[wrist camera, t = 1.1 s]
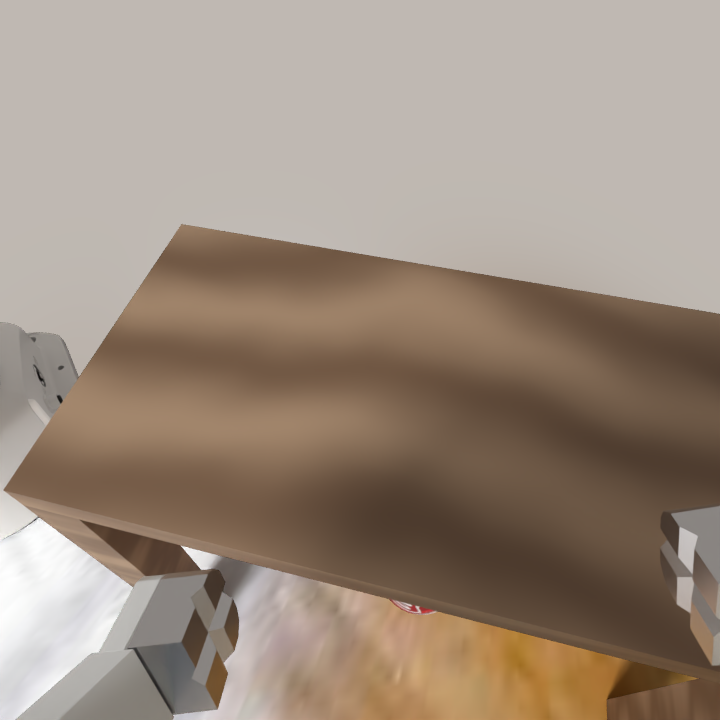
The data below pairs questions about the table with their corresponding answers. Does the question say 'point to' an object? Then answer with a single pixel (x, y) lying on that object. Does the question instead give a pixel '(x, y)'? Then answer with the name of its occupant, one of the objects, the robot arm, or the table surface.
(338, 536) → the walnut shelf
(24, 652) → the table surface
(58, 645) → the table surface
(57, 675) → the table surface
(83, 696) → the robot arm
